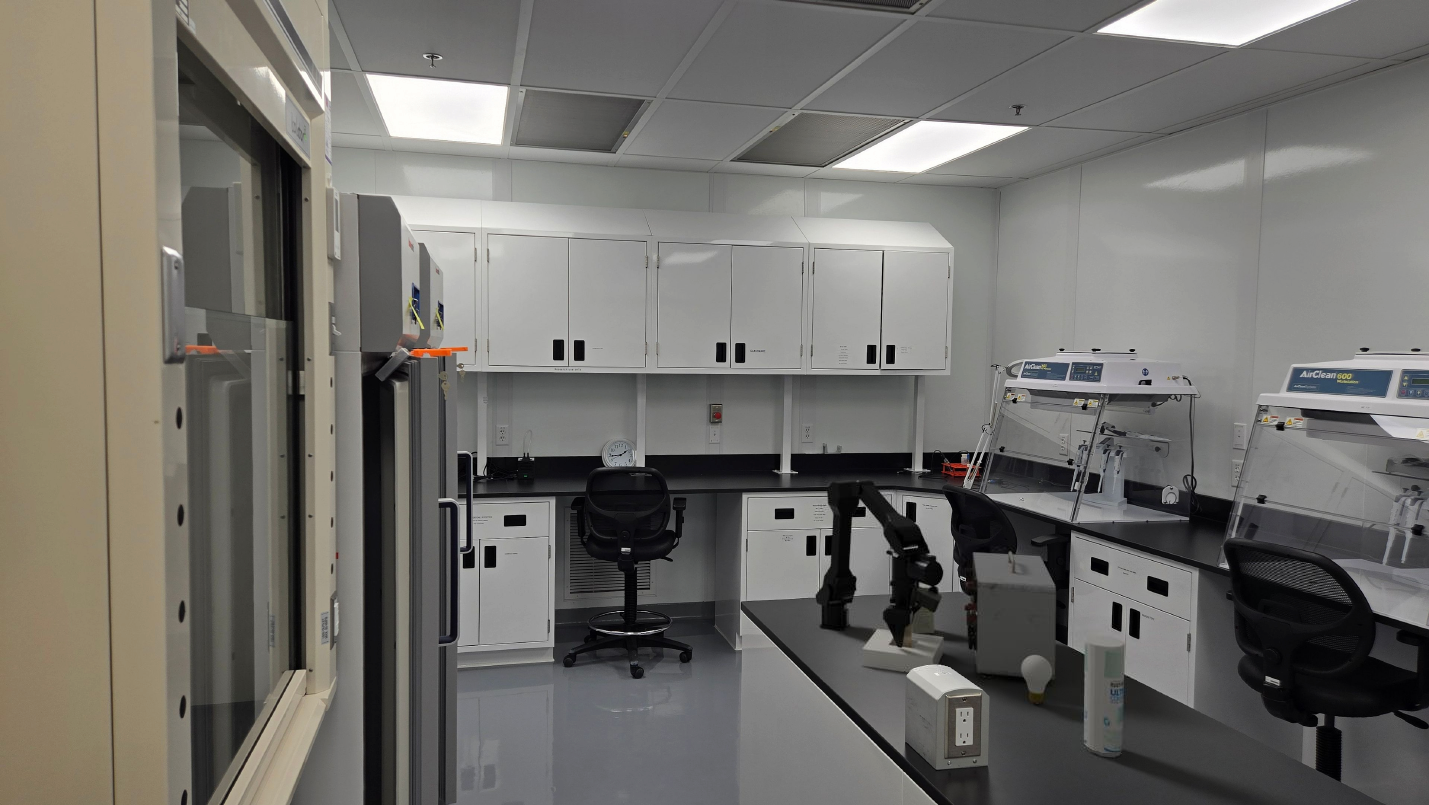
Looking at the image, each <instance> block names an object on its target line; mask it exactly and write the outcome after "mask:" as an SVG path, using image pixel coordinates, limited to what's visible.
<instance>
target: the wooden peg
mask: <svg viewBox="0 0 1429 805" xmlns="http://www.w3.org/2000/svg"><path fill="white" fill-rule="evenodd" d="M896 646H897V645H896ZM903 647H907V648H912V622H911V624H910V625H908V626H907V627H906V630H905V636H904V642H903Z"/></svg>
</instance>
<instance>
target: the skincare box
mask: <svg viewBox="0 0 1429 805" xmlns="http://www.w3.org/2000/svg"><path fill="white" fill-rule="evenodd" d="M919 586H920V587H922V588H927V589H928V588H929V587H931V586H929V585H926V584H923V583H919ZM934 619H935V612H930V611H929V610H928V609H926V608H924V607H921V609H920V610H918V611H917V612H916V613H915V616H914V620H913V624H912V633H916V634H935V620H934Z"/></svg>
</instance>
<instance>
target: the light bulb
mask: <svg viewBox="0 0 1429 805" xmlns="http://www.w3.org/2000/svg"><path fill="white" fill-rule="evenodd" d="M1021 671H1022V675H1023V677H1022V678H1024V680H1025V682H1026V685H1027V689H1028V696H1029V701H1030V702H1032V703H1033V702H1034V703H1039V704H1040V703H1042V702H1043V701H1044V692H1045V689H1046V686H1047V684H1048V681H1049V682H1050V678H1051V676H1052V668H1051V665H1050V663H1049V662H1048V661H1047V660H1046V659H1045V658H1043V657H1042V656H1038V655H1031V656H1029V657H1027V658H1026V659H1025V660H1024V661H1023V663H1022V666H1021ZM1034 703H1033V704H1034Z"/></svg>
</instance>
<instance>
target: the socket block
mask: <svg viewBox="0 0 1429 805" xmlns="http://www.w3.org/2000/svg"><path fill="white" fill-rule="evenodd" d="M861 651H862V652H861V653H862V655H861V656H862V658H861V659H862V660H861V661H862V667H869V668H875V669H882V670H889V671H895V672H903V673H909V672H908V671H910V670H911V669H912V668H914V667H918V666H922V665H927V664H938V665H939V663H940V661H941V659H942V657H943V655H944V636H938V635H930V634H925V633H912V648H907V647H902V648H899V647H897V646H896V643H895V640H894V638H893V636H892V634H891V632H890V630H889V629H882V628H877V629H876V631H875V632H873V635H871V636H870V638H869V640H868V641H867V642H866V644H865V645H864V646H863V647H862V650H861ZM942 654H943V655H942ZM941 656H942V657H941ZM940 658H941V659H940ZM939 660H940V661H939ZM938 661H939V662H938ZM904 671H906V672H904Z"/></svg>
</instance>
